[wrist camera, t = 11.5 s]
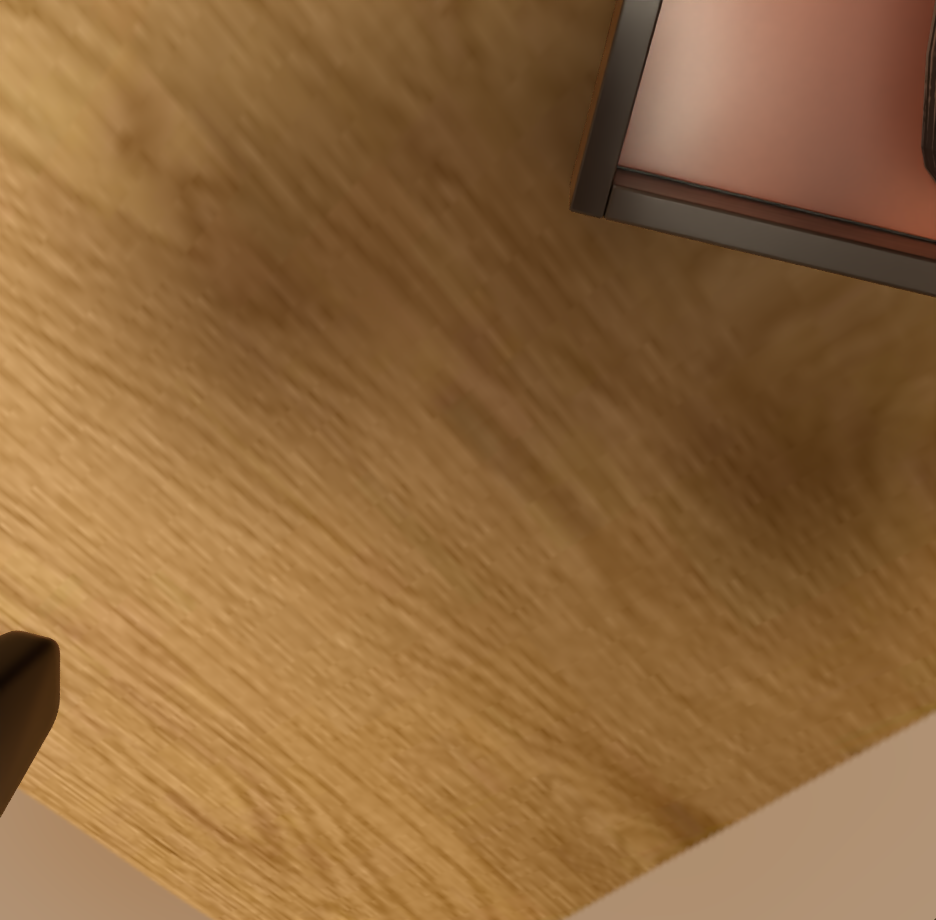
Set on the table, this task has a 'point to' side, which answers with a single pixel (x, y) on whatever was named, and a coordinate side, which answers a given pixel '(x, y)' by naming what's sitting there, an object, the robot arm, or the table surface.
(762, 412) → the table surface
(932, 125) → the lighter
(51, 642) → the robot arm
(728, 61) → the divided tray
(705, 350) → the table surface
